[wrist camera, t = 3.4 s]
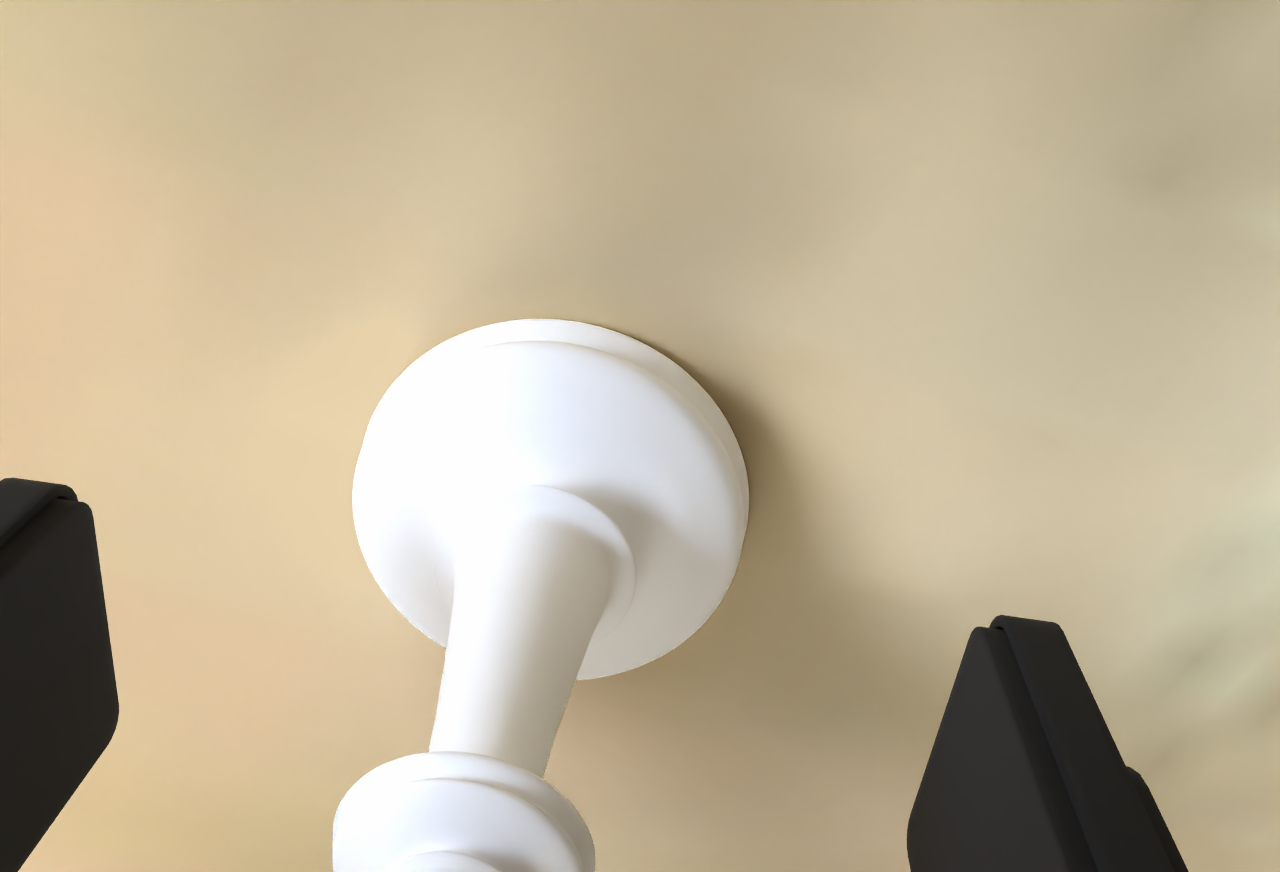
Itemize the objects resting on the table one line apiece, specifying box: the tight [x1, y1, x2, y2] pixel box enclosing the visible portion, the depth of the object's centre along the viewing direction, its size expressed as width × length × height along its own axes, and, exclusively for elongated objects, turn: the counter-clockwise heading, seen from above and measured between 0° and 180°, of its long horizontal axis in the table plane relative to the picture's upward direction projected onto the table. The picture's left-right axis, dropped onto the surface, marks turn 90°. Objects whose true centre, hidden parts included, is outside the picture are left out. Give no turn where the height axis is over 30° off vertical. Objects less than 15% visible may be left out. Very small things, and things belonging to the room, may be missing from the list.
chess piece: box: [332, 319, 749, 872], centre depth 9 cm, size 5×5×10 cm
